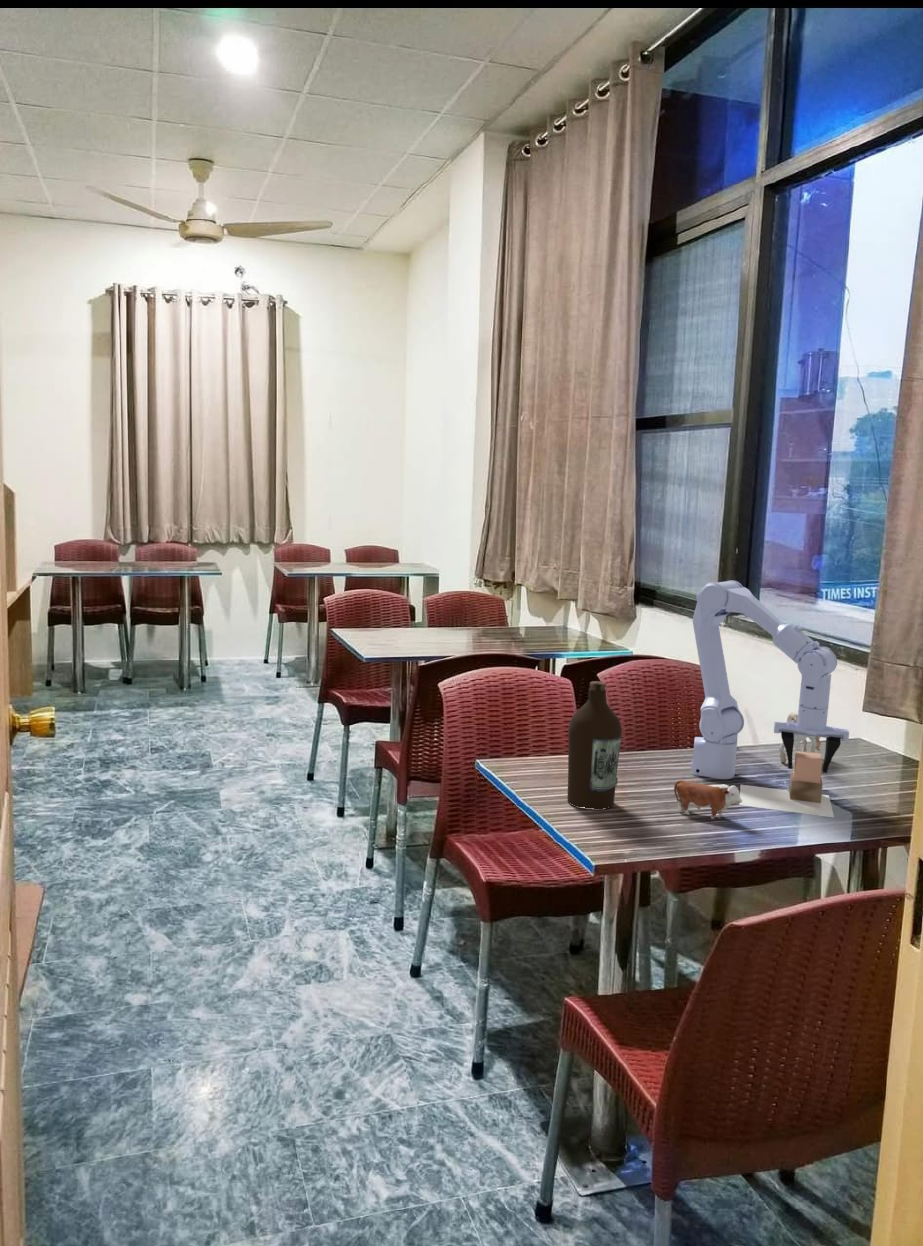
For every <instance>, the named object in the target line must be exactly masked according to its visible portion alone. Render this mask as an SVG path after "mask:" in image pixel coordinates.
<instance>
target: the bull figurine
mask: <svg viewBox="0 0 923 1246" xmlns="http://www.w3.org/2000/svg"><path fill="white" fill-rule="evenodd" d="M673 791H674V796H675V798H676V805H677V808H678V809H677V810H678V811H679V812H682V811H684V814H685V815H691V813H690V811H689V805H690V803H692V804H694V805H695V807H696V808H697V810H700V809H701V807H703V808H704V807H705V808H711V816H710V819H712V820H715V817H716V816H717V814H718V817H720V818H722V817H724V816H723V811H726V810H727V809H729V808H730V806H731V805H733V804H740V803H741V802H742V799H741V798H740V786H736V785H731V786H729V785H728V784H719V785H718V784H711V785H710V784H703V783H697V782H692V781H688V780H687V781H686V780H678V781H676V783H675V784H674V787H673Z"/></svg>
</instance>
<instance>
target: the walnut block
mask: <svg viewBox="0 0 923 1246" xmlns="http://www.w3.org/2000/svg"><path fill="white" fill-rule="evenodd" d="M789 777H790V778H789V788H788V791H789V795H790V799H792V800H799V801H807V802H815V803H821V795H823V785H824V784H823V781H822V778H821V779H820V784H819V783H811V782H802V781H794V775H793V772H790V776H789Z"/></svg>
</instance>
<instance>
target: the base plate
mask: <svg viewBox="0 0 923 1246" xmlns="http://www.w3.org/2000/svg"><path fill="white" fill-rule="evenodd" d="M739 793H740V798H741V799H742V802H741V803H738V806H743V807H744V806H745V807H750V808H756V809H757V808H759V809H767V810H774V811H780V812H788V813H789V812H790V813H796V814H805V815H811V816H817V817H818V816H820V817H826V818H827V817H828V818H835V816H834V811H833V807H832V803H831V798H830V795H827V794H822V795H821V803H815V802H807V801H799V800H792V799H790V795H789V789H788V790H787V789H780V788H773V787H772V788H771V787H763V786H762V787H761V786H756V785H755V786H754V785H749V784H748V785H745V784H740V786H739Z"/></svg>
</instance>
